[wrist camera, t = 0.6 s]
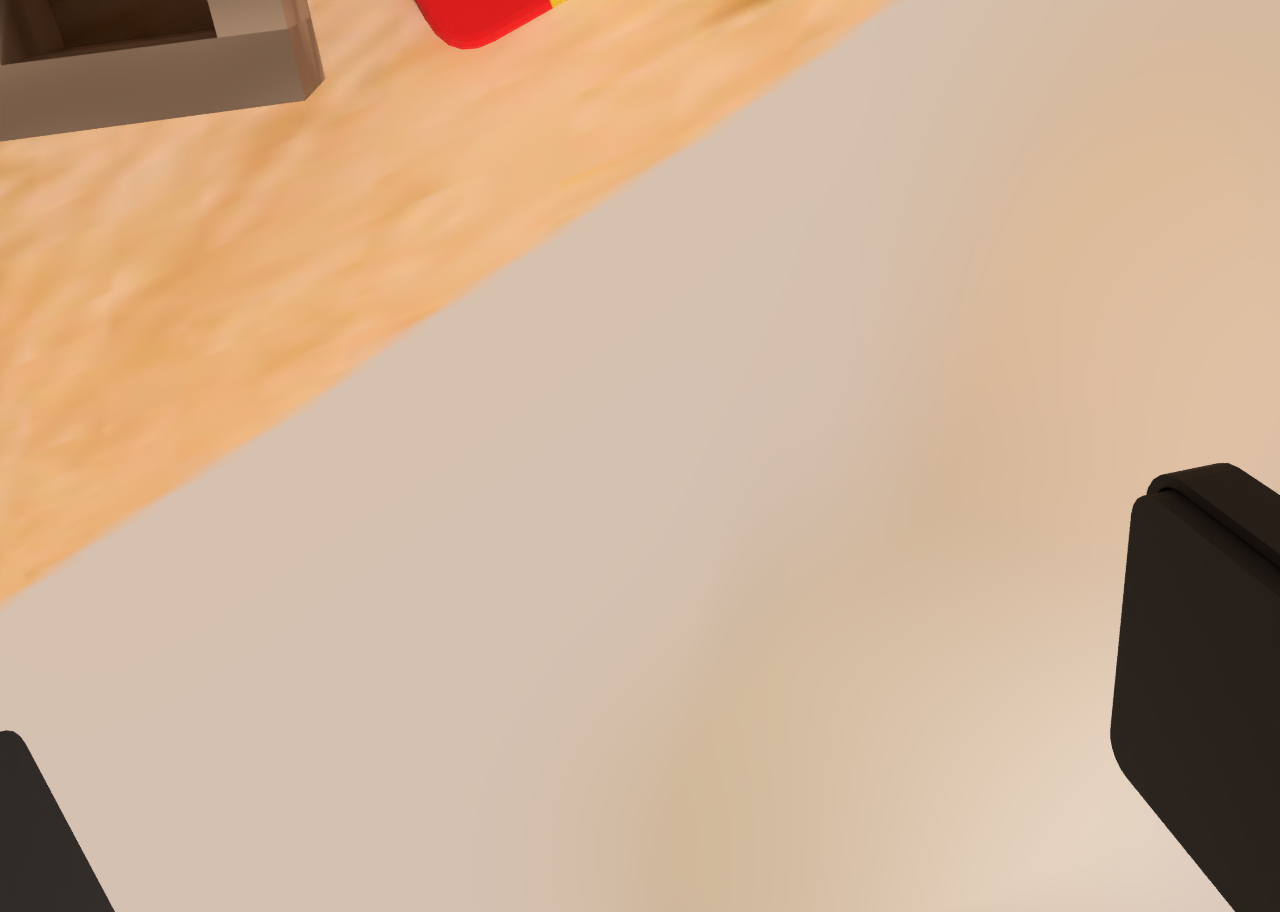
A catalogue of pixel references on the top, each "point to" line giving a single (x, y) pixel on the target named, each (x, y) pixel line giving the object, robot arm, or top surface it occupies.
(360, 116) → the top surface
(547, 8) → the popsicle
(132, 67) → the socket block
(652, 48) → the top surface
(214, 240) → the top surface
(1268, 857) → the robot arm
